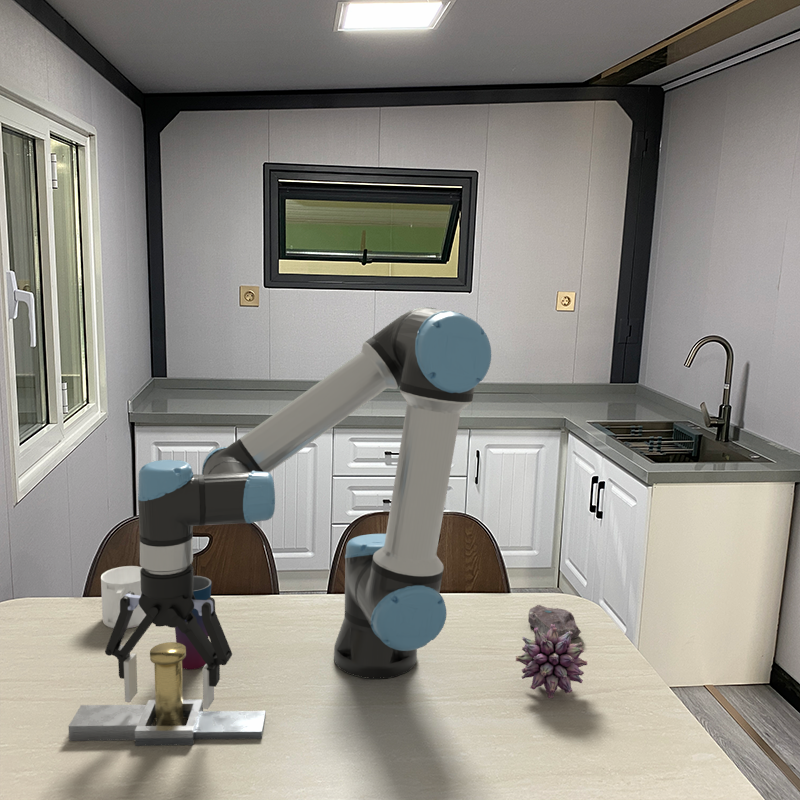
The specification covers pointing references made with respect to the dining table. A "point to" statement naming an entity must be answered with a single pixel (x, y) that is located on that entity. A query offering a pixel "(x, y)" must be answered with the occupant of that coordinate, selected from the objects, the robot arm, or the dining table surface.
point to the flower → (552, 661)
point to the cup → (200, 593)
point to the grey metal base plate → (139, 720)
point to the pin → (168, 683)
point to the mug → (120, 594)
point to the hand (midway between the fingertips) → (169, 700)
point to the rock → (553, 620)
